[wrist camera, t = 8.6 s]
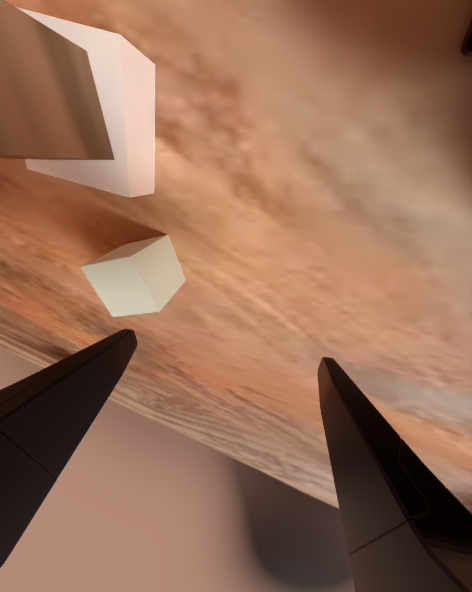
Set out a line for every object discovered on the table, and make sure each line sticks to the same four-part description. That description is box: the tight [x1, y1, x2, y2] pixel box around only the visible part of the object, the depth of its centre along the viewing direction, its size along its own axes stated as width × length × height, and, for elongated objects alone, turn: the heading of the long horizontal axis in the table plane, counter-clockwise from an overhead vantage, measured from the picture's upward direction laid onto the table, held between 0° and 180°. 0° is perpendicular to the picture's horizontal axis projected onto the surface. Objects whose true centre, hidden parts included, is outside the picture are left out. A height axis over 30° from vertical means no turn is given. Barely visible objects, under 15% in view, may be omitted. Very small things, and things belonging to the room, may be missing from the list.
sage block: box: [80, 235, 186, 317], centre depth 19 cm, size 5×5×6 cm
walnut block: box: [0, 0, 115, 160], centre depth 10 cm, size 5×5×6 cm
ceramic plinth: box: [16, 7, 155, 198], centre depth 15 cm, size 8×8×4 cm
